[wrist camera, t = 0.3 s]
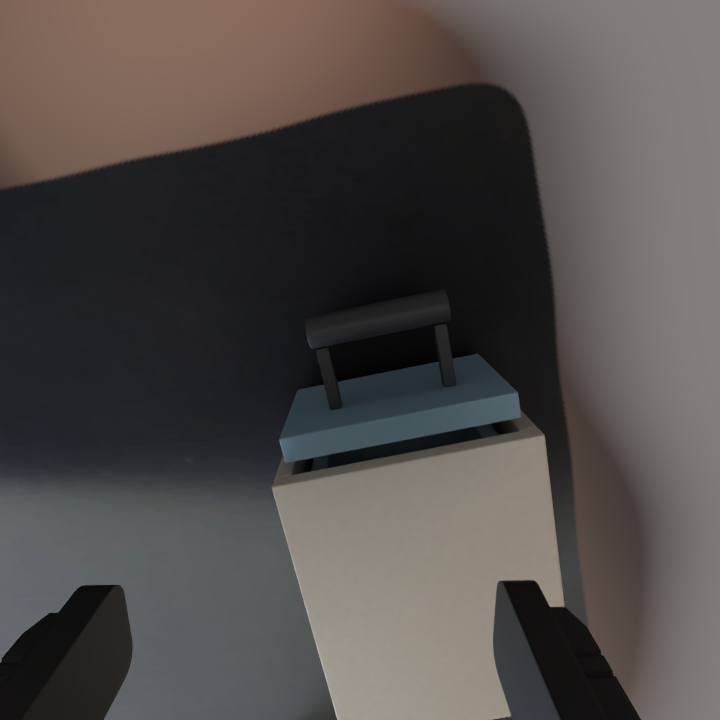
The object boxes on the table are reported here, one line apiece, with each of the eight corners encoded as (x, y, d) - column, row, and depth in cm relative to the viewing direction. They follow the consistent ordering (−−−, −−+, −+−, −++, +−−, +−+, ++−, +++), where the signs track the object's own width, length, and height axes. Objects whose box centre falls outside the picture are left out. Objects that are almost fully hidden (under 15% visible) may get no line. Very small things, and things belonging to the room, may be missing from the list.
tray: (277, 311, 26) (251, 337, 19) (466, 272, 25) (504, 285, 19) (346, 585, 30) (344, 682, 24) (508, 556, 30) (551, 646, 23)
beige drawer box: (295, 413, 28) (271, 487, 20) (488, 375, 28) (545, 434, 20) (347, 612, 32) (344, 744, 24) (518, 581, 32) (576, 706, 23)
